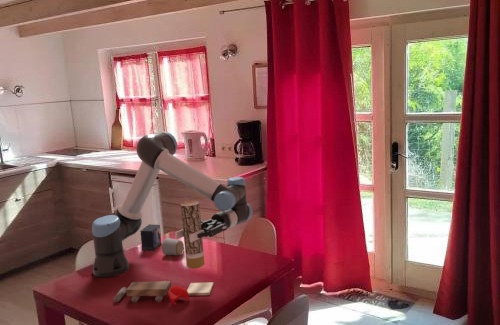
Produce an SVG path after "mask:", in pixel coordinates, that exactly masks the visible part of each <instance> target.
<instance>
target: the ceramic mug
mask: <svg viewBox="0 0 500 325" xmlns="http://www.w3.org/2000/svg"><path fill="white" fill-rule="evenodd" d="M161 251H162V254H163V255H166V256H167V255H168V256H181V255H182V254H183V252H184V251H185V243H184V242H183V240H180V239H176V238H169V237H166V238H165V239H164V240H163V241H162V244H161Z"/></svg>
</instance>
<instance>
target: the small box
mask: <svg viewBox="0 0 500 325" xmlns="http://www.w3.org/2000/svg"><path fill="white" fill-rule="evenodd" d="M139 231H140V241H141V252H154V251H155V250H156V249H158V248H159V247H160V246H162V244H163V242H162V234H161V224H152V223H151V224H148V225H146V226H145V227H143V228H142V229H141V230H139Z"/></svg>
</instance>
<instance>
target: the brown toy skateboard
mask: <svg viewBox="0 0 500 325" xmlns="http://www.w3.org/2000/svg"><path fill="white" fill-rule="evenodd" d="M171 287H172V282H171V280H169V281H168V280H163V281H161V280H160V281H157V280H156V281H153V280H152V281H132V282H131V283H130V285H129V286H128V287H126V286H123V287H121V288H120V290H118V292H117V293H116V295H114V297H113V301H114V303H119V302H120V301H121V300H122V298H123V297H124V296H125V295H126V297H131V303H137V302H138V301H139V300H140V298H141V297H143V296H144V297H145V296H149V297H151V296H155V298H154V299H155V301H156V302H157V303H160V302H162V300H163V299H164V297H165V296H167V295H168V292H169V289H170V288H171Z"/></svg>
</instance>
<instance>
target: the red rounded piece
mask: <svg viewBox="0 0 500 325" xmlns="http://www.w3.org/2000/svg"><path fill="white" fill-rule="evenodd" d="M167 295H168V297H169V299H170V301H171V302H172V303H173V305H174V306H177V300H179V299H180V298H184V299H185V300H187V302H190V297H189V296H188V291H187V289H186V288H185V287H183V286H178V285H174V286H171V288H170V289H169V292H168V294H167Z"/></svg>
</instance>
